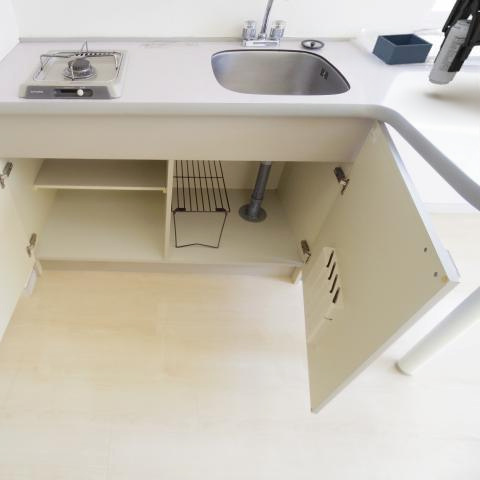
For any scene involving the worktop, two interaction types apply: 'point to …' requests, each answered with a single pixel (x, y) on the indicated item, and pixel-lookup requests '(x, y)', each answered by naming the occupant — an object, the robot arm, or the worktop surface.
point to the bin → (401, 48)
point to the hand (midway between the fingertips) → (445, 67)
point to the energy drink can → (449, 53)
